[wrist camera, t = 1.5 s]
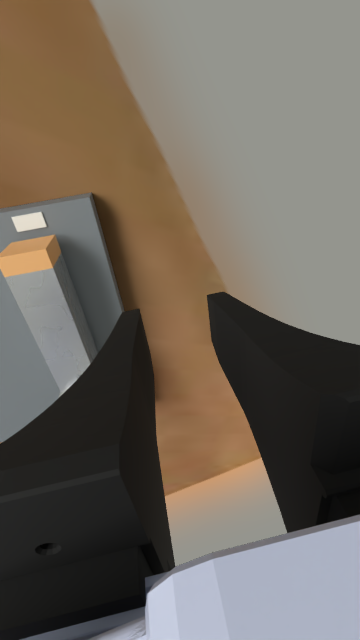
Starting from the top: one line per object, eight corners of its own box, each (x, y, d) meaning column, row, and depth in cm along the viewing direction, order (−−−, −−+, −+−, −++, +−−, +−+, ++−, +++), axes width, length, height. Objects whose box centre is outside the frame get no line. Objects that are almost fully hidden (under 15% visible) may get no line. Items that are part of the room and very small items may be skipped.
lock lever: (120, 388, 24) (119, 421, 21) (73, 398, 23) (67, 433, 21) (66, 231, 17) (55, 249, 14) (1, 243, 17) (-22, 264, 14)
